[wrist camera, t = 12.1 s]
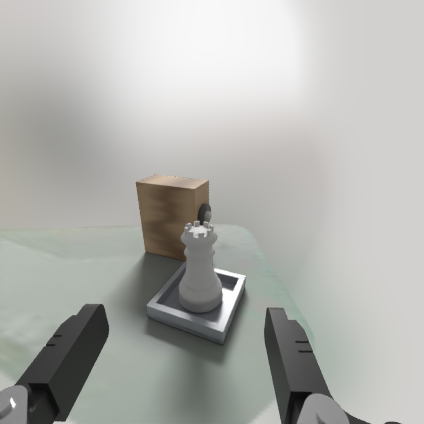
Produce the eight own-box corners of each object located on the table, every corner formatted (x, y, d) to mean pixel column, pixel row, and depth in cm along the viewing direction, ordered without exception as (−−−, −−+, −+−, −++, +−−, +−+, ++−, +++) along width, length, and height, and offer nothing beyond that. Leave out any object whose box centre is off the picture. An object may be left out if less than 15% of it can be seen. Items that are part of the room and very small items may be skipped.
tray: (148, 317, 21) (146, 305, 21) (185, 271, 27) (184, 261, 27) (222, 345, 19) (222, 332, 18) (244, 287, 25) (245, 276, 24)
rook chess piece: (221, 282, 25) (223, 216, 22) (224, 316, 21) (226, 239, 18) (181, 283, 25) (176, 216, 22) (175, 316, 21) (168, 240, 17)
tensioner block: (145, 251, 31) (135, 181, 28) (161, 238, 35) (155, 174, 31) (203, 265, 28) (201, 189, 25) (215, 249, 32) (215, 180, 28)
